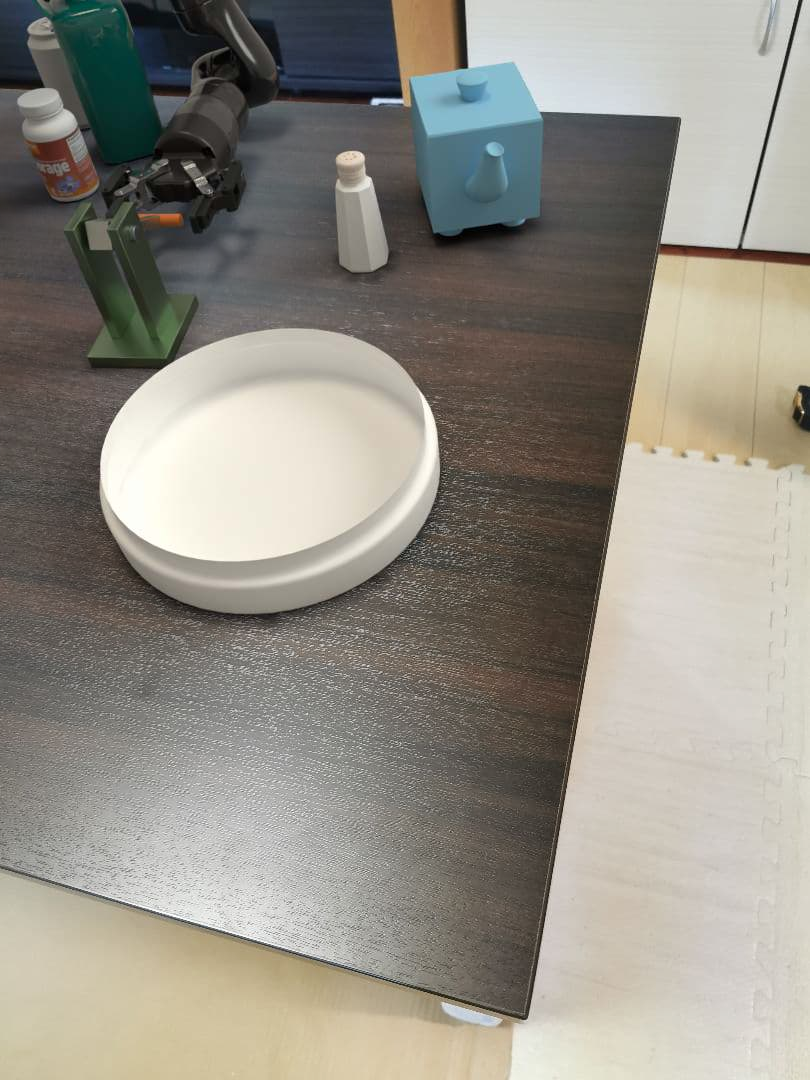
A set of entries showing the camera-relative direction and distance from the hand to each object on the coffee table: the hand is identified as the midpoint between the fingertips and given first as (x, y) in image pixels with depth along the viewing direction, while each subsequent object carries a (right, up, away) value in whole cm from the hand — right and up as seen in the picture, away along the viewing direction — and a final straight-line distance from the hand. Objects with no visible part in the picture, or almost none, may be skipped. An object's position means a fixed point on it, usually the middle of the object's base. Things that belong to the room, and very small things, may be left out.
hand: (153, 226), depth 84 cm
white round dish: (+15, -26, -14) cm, 33 cm away
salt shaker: (+21, -2, +4) cm, 21 cm away
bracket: (-1, -11, 0) cm, 11 cm away
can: (-18, +26, +31) cm, 45 cm away
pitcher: (-11, +19, +25) cm, 33 cm away
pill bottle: (-15, +11, +19) cm, 27 cm away
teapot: (+33, +4, +8) cm, 34 cm away
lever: (-1, -3, -4) cm, 5 cm away
